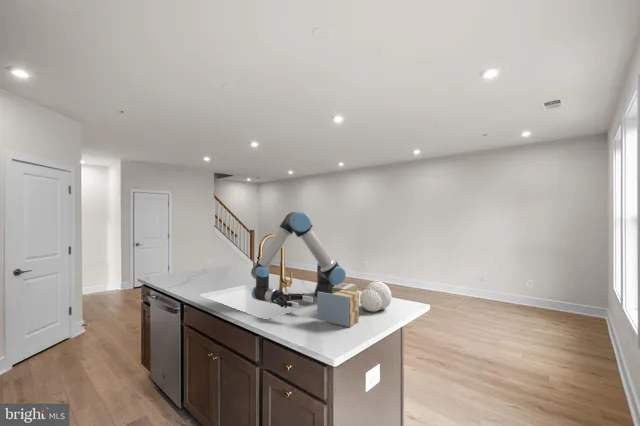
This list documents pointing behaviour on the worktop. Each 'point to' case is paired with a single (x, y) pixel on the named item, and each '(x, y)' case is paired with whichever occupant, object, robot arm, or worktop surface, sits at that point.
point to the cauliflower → (375, 297)
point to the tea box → (344, 287)
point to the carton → (351, 306)
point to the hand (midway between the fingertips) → (305, 302)
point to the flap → (333, 308)
